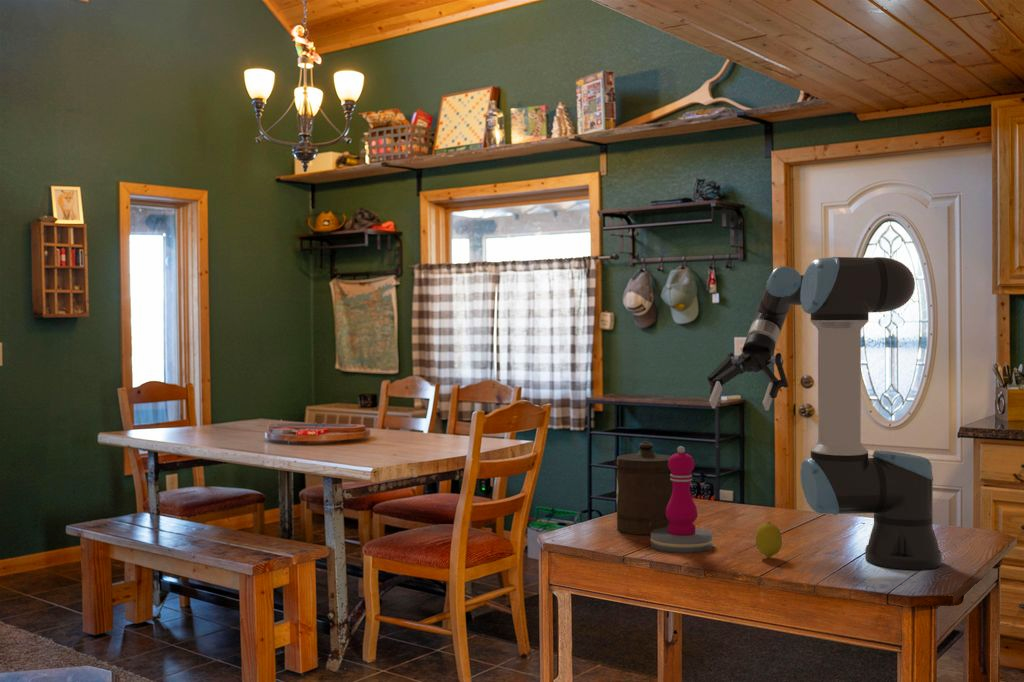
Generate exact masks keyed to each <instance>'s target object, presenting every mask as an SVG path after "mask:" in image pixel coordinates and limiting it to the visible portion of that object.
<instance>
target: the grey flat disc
mask: <svg viewBox="0 0 1024 682" xmlns="http://www.w3.org/2000/svg"><path fill="white" fill-rule="evenodd" d="M650 547H651V548H652V549H655V550H658V551H661V552H662V551H663V552H666V553H667V552H668V553H676V554H677V553H679V554H681V553H682V554H690V553H691V554H693V553H702V552H708V551H710V550H711V549H713V533H712V531H710V530H707V529H704V528H700V527H699V528H698V527H695V534H693V535H686V536H682V535H672V534H669V533H668V527H664V528H658V529H654V530H652V531H651V535H650Z"/></svg>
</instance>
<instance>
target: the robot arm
mask: <svg viewBox="0 0 1024 682" xmlns="http://www.w3.org/2000/svg"><path fill="white" fill-rule="evenodd" d="M805 269H806V270H805V272H804V274H800V272H799V271H798V270H797V269H795V268H793V267H789V266H786V265H784V266H779V267H776V268H774V270H773V271H772V272H771V273H770V275H769V277H768V279H767V281H766V284H765V288H764V291H763V294H762V296H761V298H760V300H759V302H758V305H757V309H756V311H755V314H754V317H753V321H752V323H751V325H750V328H749V330H748V333H747V335H746V339H745V341H744V343H743V346H742V351H741V353H740V354H739V355H736V354H734V353H733V352H729V353H728V354H727V356H726V358H725V359H724V360H723V361H722V362H721V363H720V364H719V365H718V366H717V367H716V368H715V369H714V370H713V371H712V372H710V374H709V375H707V377H706V379H707V381H708V383H709V385H710V386H711V387H710V389H709V393H710V397H709V400H708V402H709V404H710V406H711V408H712V409H716V407H717V404H718V401H719V399H720V396H721V393H722V391H723V385H725V384H727V383H728V382H729V381H731V380H732V379H734V378H735V377H737V376H738V375H741V374H744V373H745V372H747V373H750V372H754V373H759V372H760V371H761V372H762V373H763V374H764V375H765V376H766V377H767V379H768V380H769V382H768V385H767V389H766V391H765V394H764V397H763V400H762V405H763V407H764V411H769V410H770V407H771V404H772V402H773V399H776V398H777V397H778V394H779V391H780V389H781V388H786V389H787V388H788V387H789V382H788V380H787V375H786V373H785V370H784V367H783V365H784V358H783V356H782V354H781V353H780V352H778V353H775V350H776V346H777V343H778V341H779V337H780V335H781V331H782V328H783V327H784V324H785V320H786V319H787V316H788V314H789V311H790V309H791V307H792V306H801V308H802V309H801V310H802V311H803V312H804V313H806V314H808V315H810V323H811V324H812V325H813V326H815V328H816V329H817V442H816V443H815V444H814V445H813V446H812V447H810V457H807V458H805V459H804V460H802V462H801V466H800V468H799V469H800V472H799V473H800V475H799V476H800V483H801V484H800V485H801V488H802V491H803V492H802V493H803V496H804V498H805V500H806V503H807V504H808V505H809V507H810V508H811V510H812V511H814V512H816V513H818V514H821V515H822V514H827V515H834V516H837V515H844V514H845V515H846V514H847V515H850V514H852V515H853V514H854V515H855V514H857V515H858V514H860V515H861V514H873V526H872V528H871V531H870V535H869V540H868V544H867V545H866V546H865V550H864V551H865V553H864V555H865V556H864V557H865V560H866V561H867V562H868V563H870V564H873V565H876V566H879V567H885V568H891V569H899V570H911V571H912V570H917V571H919V570H921V571H922V570H931V569H936V568H939V567H941V566H942V563H943V561H942V558H943V557H942V555H943V554H942V552H941V549H939V543H938V539H937V536H936V534H935V531H934V527H933V523H934V522H933V505H934V504H933V498H934V497H933V481H934V477H933V476H934V475H933V468H932V467H933V466H932V463H931V461H930V459H928V458H926V457H923V456H919V455H916V454H910V453H906V452H905V453H904V452H898V451H892V450H891V451H889V450H874V451H873V454H872V457H869V450H868V449H867V448H866V447H865V446H864V445H863V444H862V443H861V442H862V441H861V439H862V437H861V436H862V435H861V434H862V433H861V432H862V430H861V429H862V428H861V427H862V425H861V423H862V421H861V420H862V419H861V417H862V416H861V415H862V412H861V409H862V407H861V405H862V402H861V400H862V398H861V397H862V396H861V395H862V393H861V392H862V391H861V389H862V386H861V385H862V383H861V381H862V380H861V379H862V376H861V374H862V372H861V371H862V368H861V367H862V365H861V364H862V362H861V361H862V356H861V355H862V352H861V351H862V349H861V348H862V347H861V346H862V345H861V343H862V339H861V337H862V329H863V327H864V326H865V325H866V324H867V323H868V322H869V314H870V313H884V312H890V311H894V310H897V309H899V308H902V307H903V306H904V305H906V304H907V303H908V302H909V301H910V299H911V298H912V297H913V294H915V293H914V292H915V288H916V287H915V286H916V282H915V277H914V275H913V273H912V271H911V270H910V268H909V267H908V266H906V265H905V264H904V263H902V261H901V262H900V261H898V260H896V259H893V258H890V257H884V256H883V257H882V256H881V257H879V256H875V257H861V256H860V257H855V256H854V257H852V256H851V257H849V256H845V257H844V256H831V257H830V256H829V257H820V258H819V257H818V258H816V259H814V260H813V261H811V262H810V263H809V264H808V266H807V268H805ZM774 354H775V355H774ZM772 362H773V364H774V365H775V366H776V368H777V372H778V375H779V377H780V379H778V377H776V376H775V374H774V373H773V372H772V370H771V369H770V368H769V366H770V365H771V363H772Z"/></svg>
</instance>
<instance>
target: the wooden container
mask: <svg viewBox="0 0 1024 682" xmlns="http://www.w3.org/2000/svg"><path fill="white" fill-rule="evenodd" d="M639 448H640V449H639V451H638V452H637V453H626V454H620V455H617V457H616V528H617V529H616V530H618V531H620V532H622V533H626V534H631V535H642V536H651V531H652V530H654V529H658V528H664V527H668V525H669V524H670V521H669V520H668V519H667V517H666V508H667V505H668V503H669V501H670V499H671V496H672V491H673V484H672V481H671V480H670V478H671V476H670V474H672V472H671V471H670V469H669V467H668V461H669V458H670V457H671V456H672V455H669V454H660V453H659V454H658V453H655V452H654V451H653V450H652V449H653V448H654V445H653V443H652V442H651V441H649V440H643V441H641V442H639Z"/></svg>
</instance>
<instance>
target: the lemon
mask: <svg viewBox="0 0 1024 682" xmlns="http://www.w3.org/2000/svg"><path fill="white" fill-rule="evenodd" d="M780 530H781V529H780V528H779V527H778V526H776V525H775V524H773V522H771V521H766V523H762V524H761V525H760V526H758V528H757V530H756V534H755V546H756V549H757V550H758V551H759V553H761V554H762V555H764V556H765V558H767V559H771V558H772V557H773V556H774V555H777V554H778V553H779V552H780V550H781V548H782V544H783V541H782V539H783V538H782V537H783V536H782V533H781V531H780Z"/></svg>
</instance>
